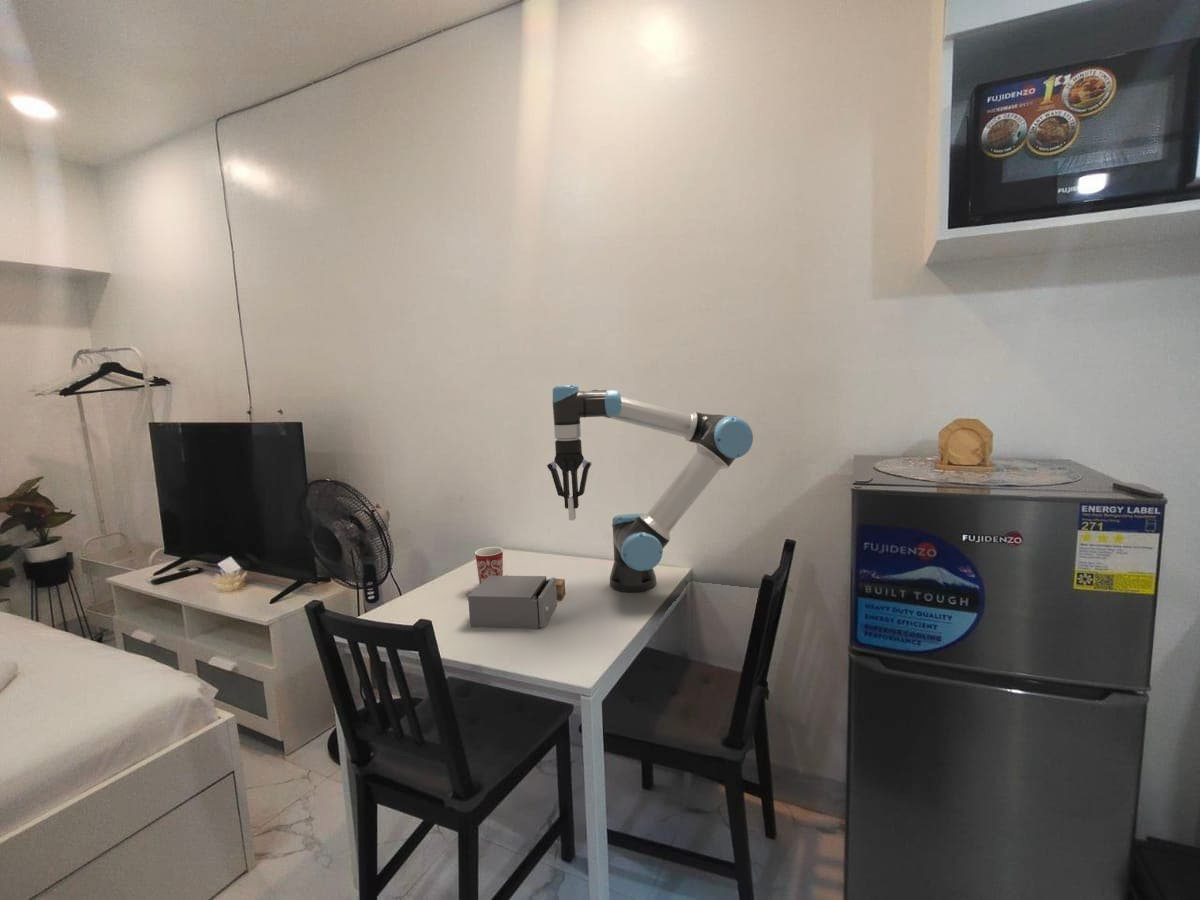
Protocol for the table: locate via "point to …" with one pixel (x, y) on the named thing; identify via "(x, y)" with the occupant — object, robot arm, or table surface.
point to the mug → (489, 562)
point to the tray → (547, 602)
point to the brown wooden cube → (560, 588)
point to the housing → (506, 602)
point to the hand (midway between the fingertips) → (572, 519)
